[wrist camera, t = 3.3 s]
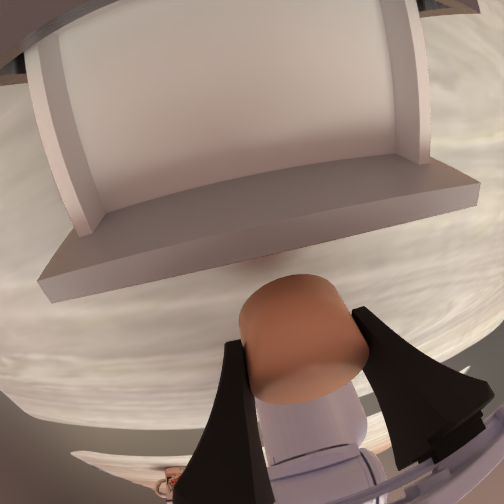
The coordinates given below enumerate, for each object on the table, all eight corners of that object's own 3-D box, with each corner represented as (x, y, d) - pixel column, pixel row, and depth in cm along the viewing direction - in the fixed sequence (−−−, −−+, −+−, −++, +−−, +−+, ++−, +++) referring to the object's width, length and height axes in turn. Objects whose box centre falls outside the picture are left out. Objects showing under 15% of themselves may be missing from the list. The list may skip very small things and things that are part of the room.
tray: (33, 42, 7) (-35, 38, 2) (393, -15, 8) (461, -32, 3) (89, 236, 14) (51, 303, 9) (412, 167, 14) (476, 205, 10)
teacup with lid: (197, 465, 42) (203, 513, 32) (209, 472, 47) (215, 514, 38) (145, 465, 42) (147, 511, 32) (162, 473, 47) (165, 513, 37)
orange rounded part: (357, 289, 13) (391, 341, 10) (304, 353, 15) (322, 404, 12) (270, 260, 11) (294, 325, 8) (222, 339, 13) (229, 401, 10)
